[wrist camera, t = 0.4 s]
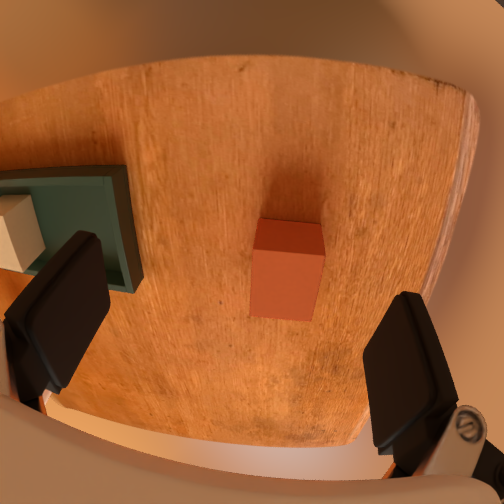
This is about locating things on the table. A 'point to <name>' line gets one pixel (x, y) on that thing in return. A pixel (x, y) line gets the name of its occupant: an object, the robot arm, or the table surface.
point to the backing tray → (82, 214)
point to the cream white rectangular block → (19, 233)
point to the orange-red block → (286, 269)
